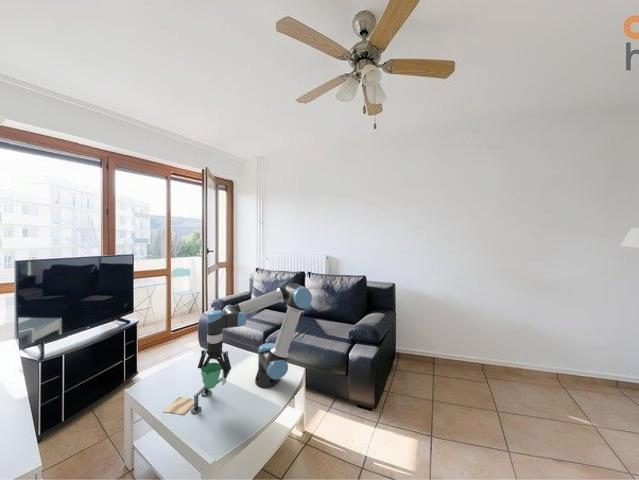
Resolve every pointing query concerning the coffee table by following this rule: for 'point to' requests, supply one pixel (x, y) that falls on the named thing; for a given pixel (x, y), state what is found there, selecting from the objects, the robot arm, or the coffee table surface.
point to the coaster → (180, 406)
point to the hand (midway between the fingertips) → (214, 382)
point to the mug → (211, 375)
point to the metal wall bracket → (196, 407)
